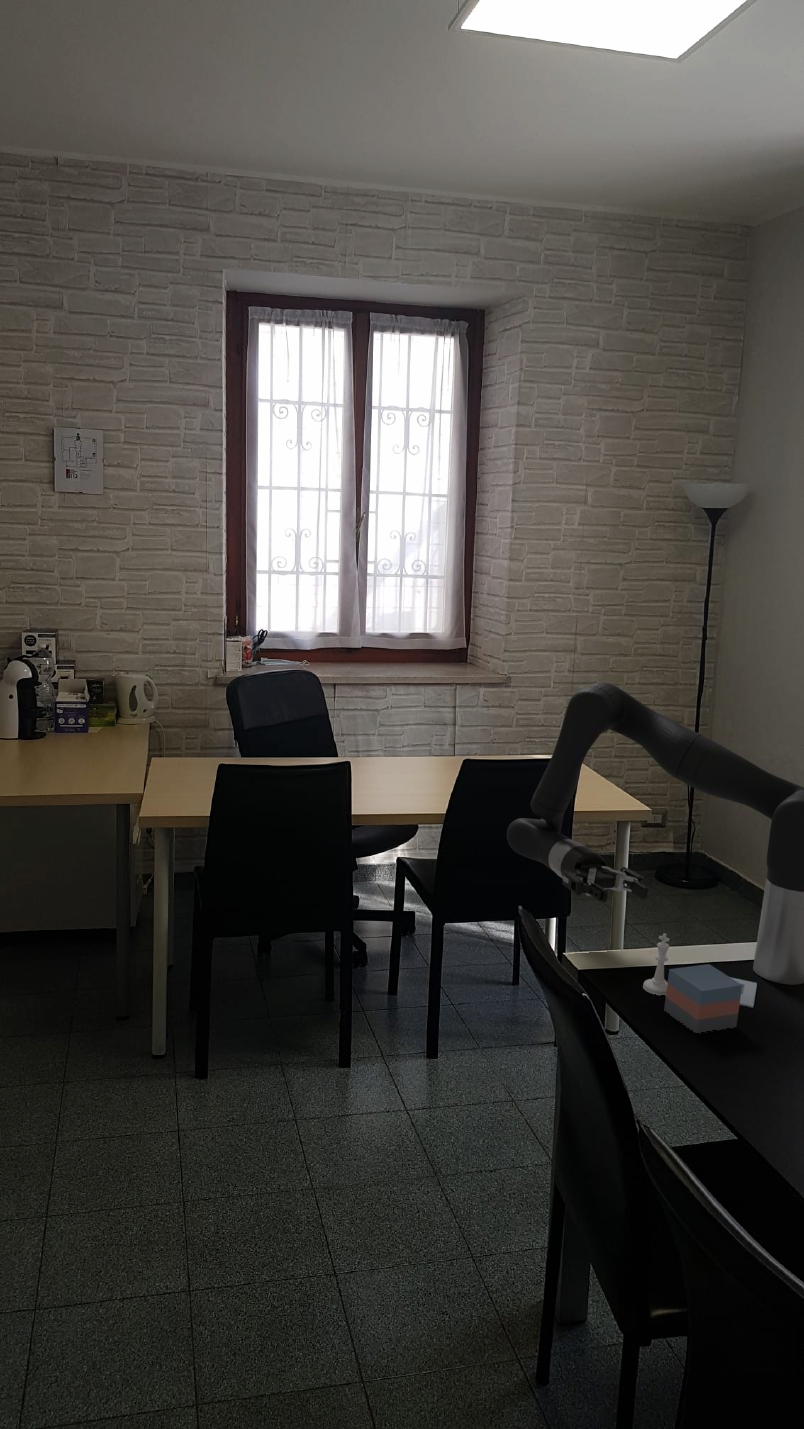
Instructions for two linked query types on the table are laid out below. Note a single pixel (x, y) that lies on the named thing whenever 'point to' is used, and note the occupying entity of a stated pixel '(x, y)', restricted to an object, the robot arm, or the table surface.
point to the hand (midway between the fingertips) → (626, 895)
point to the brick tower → (702, 998)
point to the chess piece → (659, 970)
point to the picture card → (747, 992)
